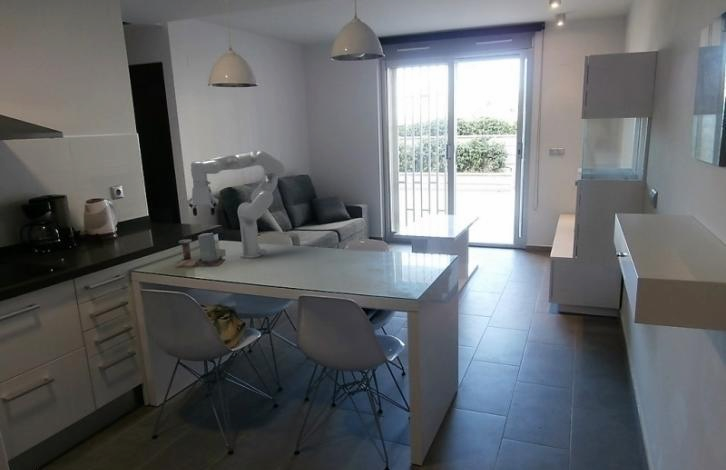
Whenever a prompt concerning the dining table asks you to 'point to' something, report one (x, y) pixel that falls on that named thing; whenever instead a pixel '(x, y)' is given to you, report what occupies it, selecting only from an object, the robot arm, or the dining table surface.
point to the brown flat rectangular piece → (200, 263)
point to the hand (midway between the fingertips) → (204, 215)
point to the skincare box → (207, 247)
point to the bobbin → (186, 249)
